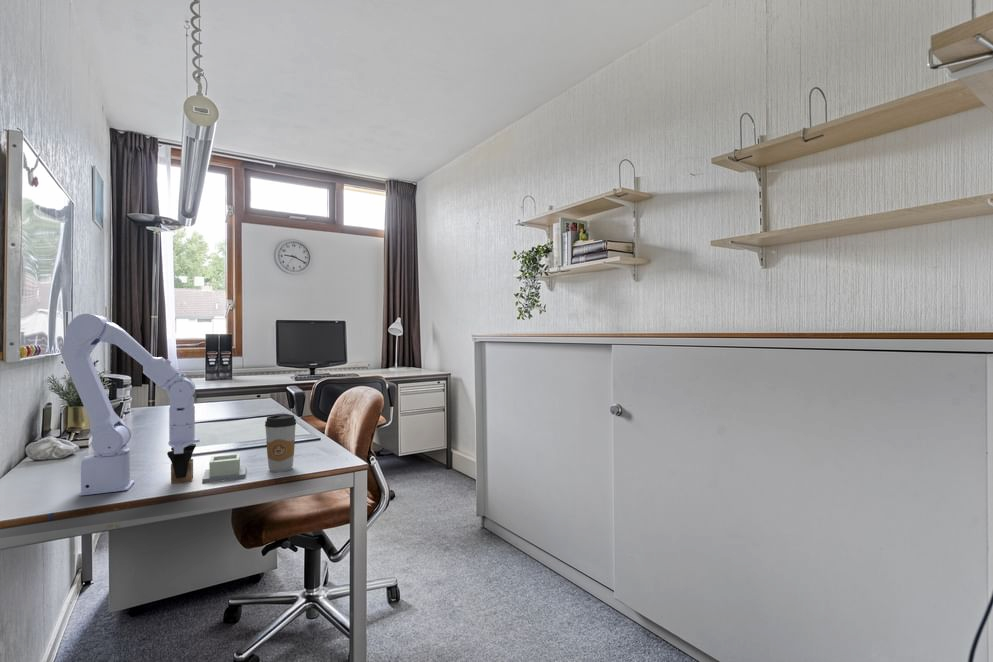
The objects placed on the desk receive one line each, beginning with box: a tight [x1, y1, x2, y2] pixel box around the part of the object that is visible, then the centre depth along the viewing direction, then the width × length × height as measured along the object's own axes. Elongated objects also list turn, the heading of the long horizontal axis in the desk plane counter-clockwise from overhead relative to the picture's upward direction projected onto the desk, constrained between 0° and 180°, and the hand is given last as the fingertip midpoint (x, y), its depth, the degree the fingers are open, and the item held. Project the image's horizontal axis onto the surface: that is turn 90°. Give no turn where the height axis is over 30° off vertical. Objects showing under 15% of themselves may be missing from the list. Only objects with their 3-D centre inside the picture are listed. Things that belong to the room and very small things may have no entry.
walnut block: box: [170, 458, 194, 485], centre depth 131 cm, size 4×4×5 cm
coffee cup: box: [264, 414, 297, 473], centre depth 142 cm, size 8×8×15 cm
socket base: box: [201, 453, 247, 484], centre depth 136 cm, size 10×10×5 cm
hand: (182, 475), depth 131 cm, fingers closed on walnut block, 4 cm apart
